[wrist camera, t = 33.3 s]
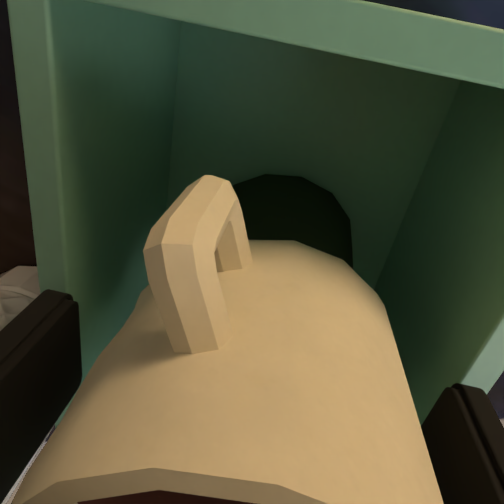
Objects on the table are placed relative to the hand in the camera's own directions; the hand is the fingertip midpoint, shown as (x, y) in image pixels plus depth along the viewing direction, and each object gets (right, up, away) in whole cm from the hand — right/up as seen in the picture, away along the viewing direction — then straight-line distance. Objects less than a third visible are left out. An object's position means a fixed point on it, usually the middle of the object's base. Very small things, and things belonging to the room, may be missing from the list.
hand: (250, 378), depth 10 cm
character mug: (+1, +4, +7) cm, 9 cm away
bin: (+1, +4, +8) cm, 9 cm away
